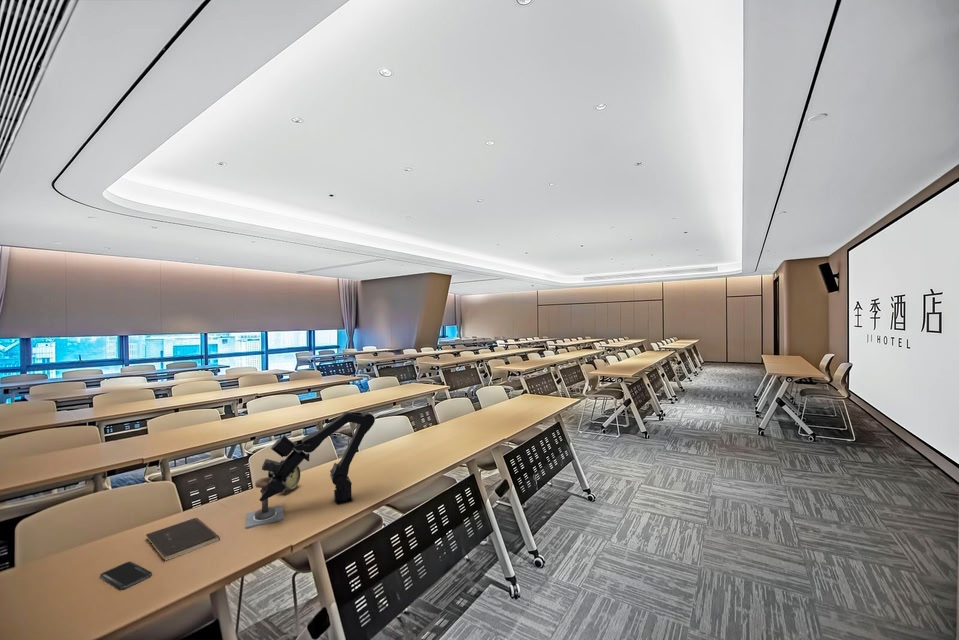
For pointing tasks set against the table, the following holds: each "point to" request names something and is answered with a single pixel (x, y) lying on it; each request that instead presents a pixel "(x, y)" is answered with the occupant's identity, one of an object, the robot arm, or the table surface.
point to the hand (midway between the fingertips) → (260, 496)
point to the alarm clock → (292, 480)
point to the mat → (277, 517)
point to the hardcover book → (182, 538)
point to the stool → (265, 511)
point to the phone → (126, 575)
